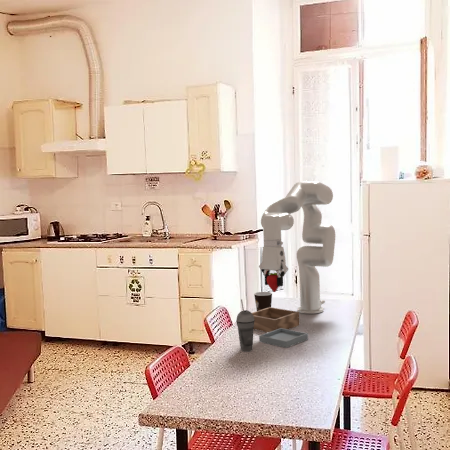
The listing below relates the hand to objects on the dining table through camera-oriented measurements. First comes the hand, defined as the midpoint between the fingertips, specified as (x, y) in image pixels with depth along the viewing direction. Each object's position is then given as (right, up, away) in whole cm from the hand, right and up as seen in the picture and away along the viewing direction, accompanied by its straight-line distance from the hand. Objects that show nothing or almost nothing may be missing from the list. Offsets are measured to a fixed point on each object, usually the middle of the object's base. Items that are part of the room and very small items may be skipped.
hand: (273, 284), depth 254 cm
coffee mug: (-2, -17, +33) cm, 37 cm away
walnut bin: (0, -19, +8) cm, 21 cm away
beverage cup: (-12, -23, -24) cm, 35 cm away
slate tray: (+3, -21, -14) cm, 25 cm away
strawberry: (0, -3, 0) cm, 3 cm away
